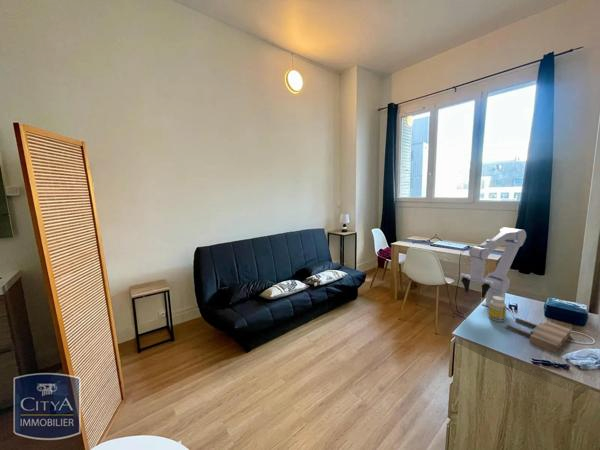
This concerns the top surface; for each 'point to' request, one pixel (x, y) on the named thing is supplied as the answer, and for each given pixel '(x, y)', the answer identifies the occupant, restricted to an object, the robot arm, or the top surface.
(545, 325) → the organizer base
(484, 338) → the top surface
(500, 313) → the pill bottle
